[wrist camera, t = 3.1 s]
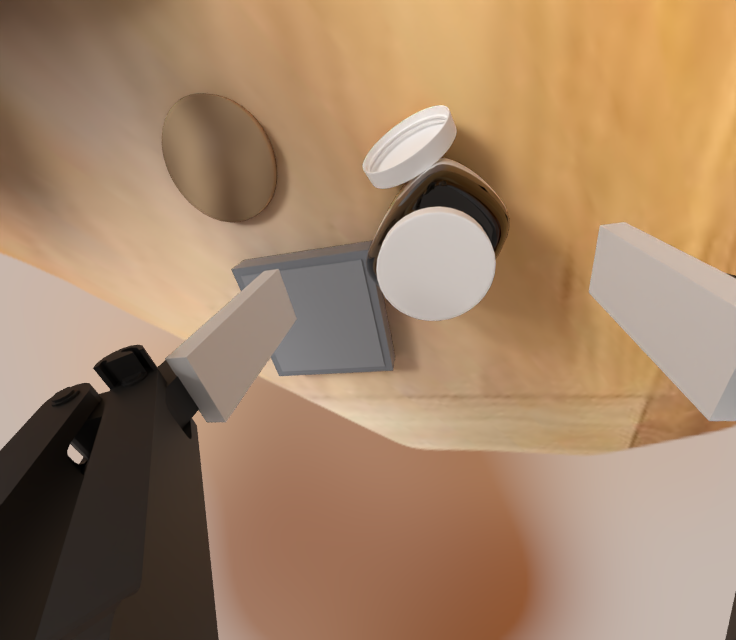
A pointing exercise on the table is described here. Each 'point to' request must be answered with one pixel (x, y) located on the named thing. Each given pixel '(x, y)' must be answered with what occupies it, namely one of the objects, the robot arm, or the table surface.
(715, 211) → the table surface
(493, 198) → the spread jar
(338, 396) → the table surface
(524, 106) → the table surface
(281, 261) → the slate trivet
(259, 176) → the oak coaster
